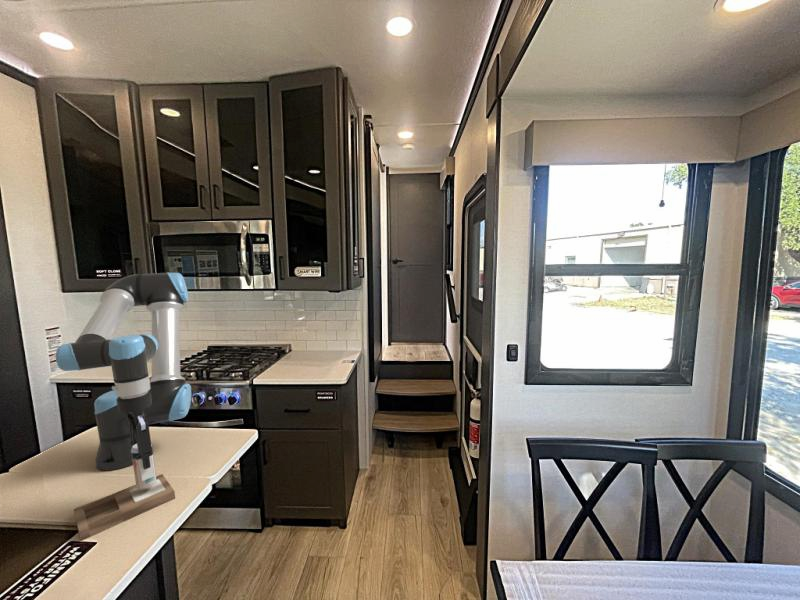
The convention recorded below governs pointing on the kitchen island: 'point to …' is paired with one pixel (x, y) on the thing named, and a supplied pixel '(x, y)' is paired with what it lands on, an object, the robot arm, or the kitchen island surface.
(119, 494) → the pocket board
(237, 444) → the kitchen island surface
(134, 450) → the beer can
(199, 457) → the kitchen island surface
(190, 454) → the kitchen island surface
